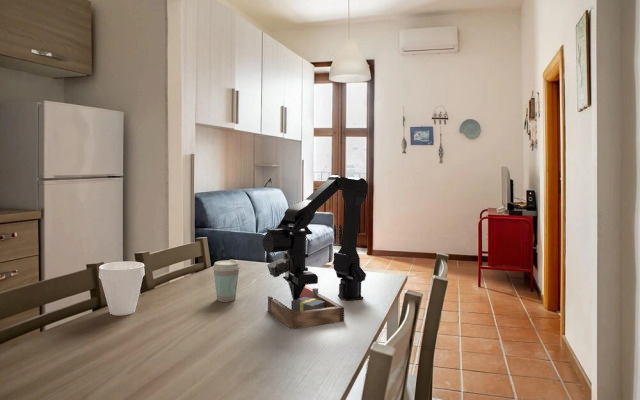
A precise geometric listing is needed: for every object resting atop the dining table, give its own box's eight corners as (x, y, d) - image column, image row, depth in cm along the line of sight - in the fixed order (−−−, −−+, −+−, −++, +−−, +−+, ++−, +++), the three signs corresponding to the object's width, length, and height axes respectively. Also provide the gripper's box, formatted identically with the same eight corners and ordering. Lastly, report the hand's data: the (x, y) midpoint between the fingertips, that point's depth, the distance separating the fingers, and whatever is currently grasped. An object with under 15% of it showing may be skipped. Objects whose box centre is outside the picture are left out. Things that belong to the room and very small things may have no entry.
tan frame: (315, 304, 150) (316, 290, 150) (344, 321, 134) (344, 305, 134) (267, 310, 143) (267, 295, 143) (291, 329, 127) (291, 312, 127)
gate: (319, 304, 149) (319, 287, 148) (313, 305, 148) (313, 288, 147) (299, 293, 162) (299, 277, 162) (294, 293, 161) (294, 277, 161)
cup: (154, 309, 142) (153, 263, 141) (121, 321, 131) (120, 271, 130) (123, 303, 148) (123, 259, 147) (89, 314, 136) (88, 267, 136)
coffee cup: (233, 304, 149) (234, 265, 148) (208, 302, 151) (208, 264, 150) (243, 296, 158) (243, 260, 157) (219, 295, 159) (219, 259, 158)
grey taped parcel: (304, 307, 146) (304, 296, 146) (325, 313, 141) (325, 301, 141) (291, 312, 141) (291, 300, 141) (312, 318, 137) (312, 305, 136)
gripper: (260, 246, 148) (259, 296, 149) (282, 257, 131) (281, 313, 132) (293, 244, 153) (292, 292, 154) (319, 254, 136) (318, 308, 137)
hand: (295, 301), depth 144 cm, fingers closed
